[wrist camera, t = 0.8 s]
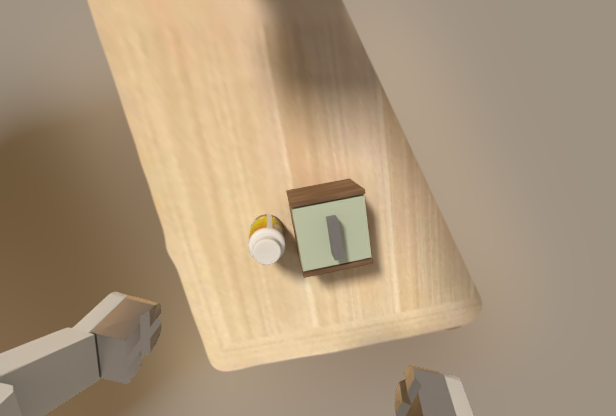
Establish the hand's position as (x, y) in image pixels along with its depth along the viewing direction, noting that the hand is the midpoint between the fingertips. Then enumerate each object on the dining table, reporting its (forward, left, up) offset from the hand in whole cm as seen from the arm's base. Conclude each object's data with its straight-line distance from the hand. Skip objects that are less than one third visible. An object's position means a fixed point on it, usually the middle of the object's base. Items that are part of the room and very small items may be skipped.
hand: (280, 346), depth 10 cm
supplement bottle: (+11, -3, -43) cm, 44 cm away
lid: (+11, +7, -35) cm, 37 cm away
